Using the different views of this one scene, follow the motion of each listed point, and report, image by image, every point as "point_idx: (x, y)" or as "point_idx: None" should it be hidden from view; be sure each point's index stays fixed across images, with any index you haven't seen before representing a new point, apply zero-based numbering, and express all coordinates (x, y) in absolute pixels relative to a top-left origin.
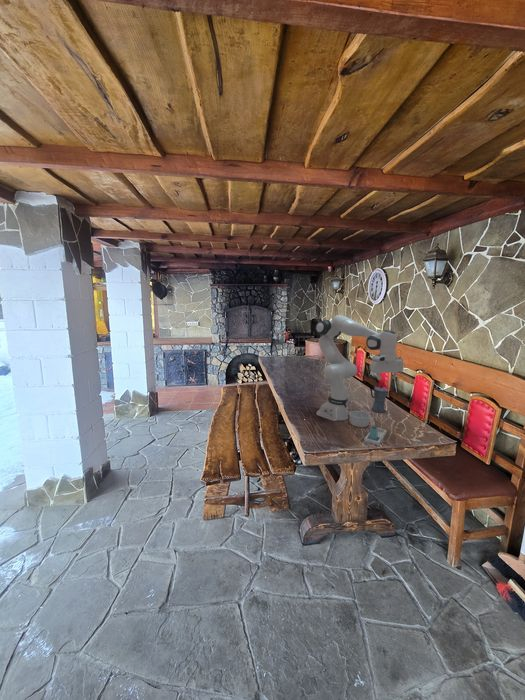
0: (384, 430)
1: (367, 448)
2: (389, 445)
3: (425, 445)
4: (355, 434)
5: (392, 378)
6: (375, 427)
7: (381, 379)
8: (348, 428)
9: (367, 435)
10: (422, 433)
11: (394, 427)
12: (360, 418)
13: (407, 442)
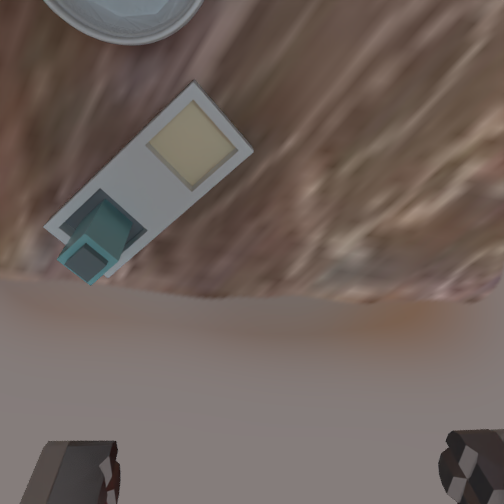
0: (238, 148)
1: (36, 281)
2: (171, 274)
3: (346, 300)
4: (28, 121)
5: (453, 458)
6: (85, 279)
7: (118, 496)
8: (7, 11)
9: (79, 196)
10: (455, 193)
11: (367, 79)
12: (83, 32)
13: (286, 263)
